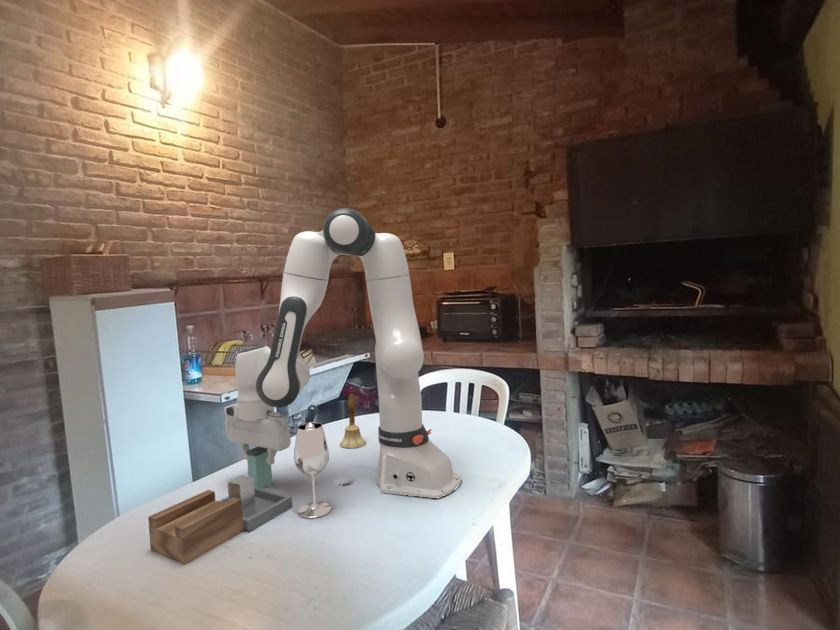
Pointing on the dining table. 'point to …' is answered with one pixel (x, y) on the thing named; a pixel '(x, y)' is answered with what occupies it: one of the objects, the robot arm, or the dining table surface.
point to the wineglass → (311, 463)
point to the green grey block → (259, 467)
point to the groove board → (195, 526)
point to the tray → (265, 508)
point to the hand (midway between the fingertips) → (259, 461)
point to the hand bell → (352, 428)
